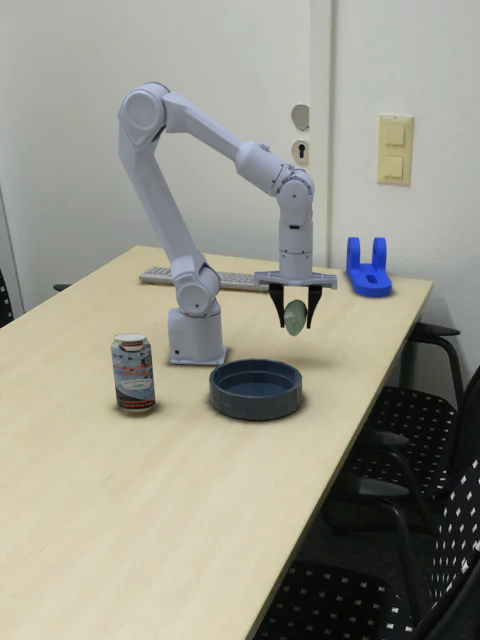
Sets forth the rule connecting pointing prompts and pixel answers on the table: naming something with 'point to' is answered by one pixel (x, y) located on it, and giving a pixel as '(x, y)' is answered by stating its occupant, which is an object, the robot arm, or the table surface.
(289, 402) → the bowl
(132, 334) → the beverage can
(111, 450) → the table surface
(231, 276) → the keyboard
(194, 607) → the table surface
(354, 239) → the bracket
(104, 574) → the table surface
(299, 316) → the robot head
